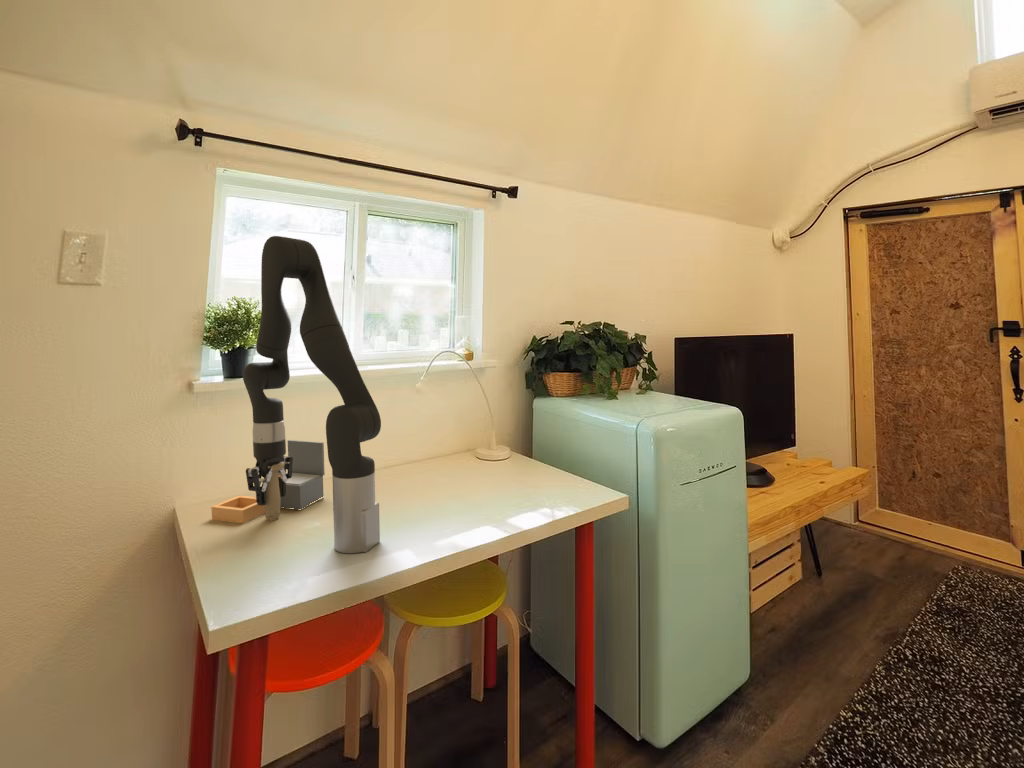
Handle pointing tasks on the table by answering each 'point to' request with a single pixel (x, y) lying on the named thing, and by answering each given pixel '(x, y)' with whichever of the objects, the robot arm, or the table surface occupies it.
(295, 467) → the chair with orange tray
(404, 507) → the table surface
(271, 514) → the handle
